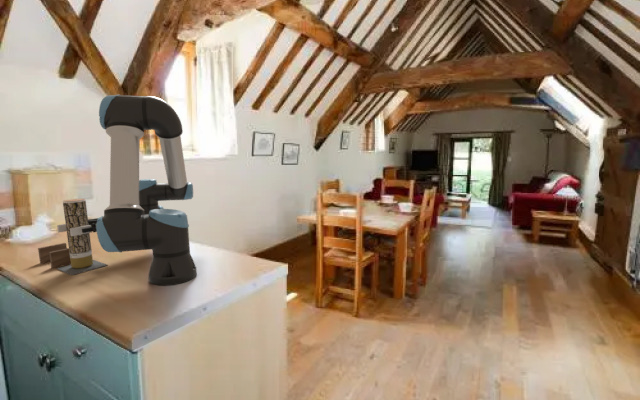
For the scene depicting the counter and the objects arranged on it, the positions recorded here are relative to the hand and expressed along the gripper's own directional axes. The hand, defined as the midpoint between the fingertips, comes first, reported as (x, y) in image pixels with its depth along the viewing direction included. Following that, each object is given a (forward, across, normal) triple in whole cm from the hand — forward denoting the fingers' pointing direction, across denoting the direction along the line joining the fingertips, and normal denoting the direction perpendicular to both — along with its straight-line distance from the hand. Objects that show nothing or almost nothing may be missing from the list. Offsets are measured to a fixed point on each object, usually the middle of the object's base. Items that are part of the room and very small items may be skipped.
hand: (64, 230), depth 125 cm
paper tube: (-5, 0, -15) cm, 15 cm away
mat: (-4, 0, -15) cm, 16 cm away
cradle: (-2, +14, -15) cm, 21 cm away
